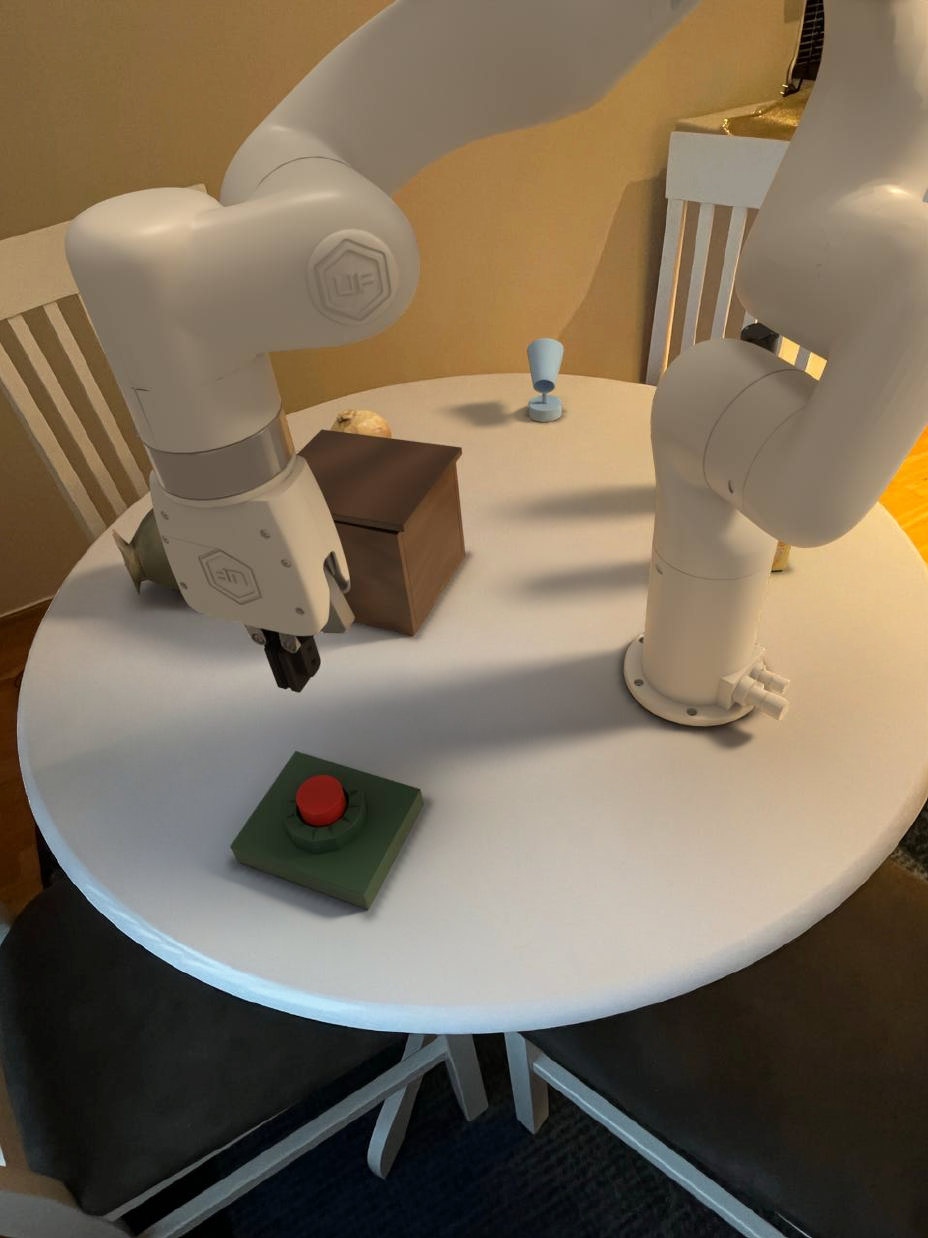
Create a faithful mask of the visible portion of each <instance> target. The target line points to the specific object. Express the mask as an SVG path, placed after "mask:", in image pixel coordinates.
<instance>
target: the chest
mask: <svg viewBox="0 0 928 1238" xmlns="http://www.w3.org/2000/svg"><path fill="white" fill-rule="evenodd" d="M458 477H459V476H458V467H457V462H456V463H455V465H454V466H453V467H452V469H451V470H450V471H449V473H448V474H447V475H446V477H445V478H444V479H443V481H442V482H441V483H440V485H439V486H438V487H437V489H436V490H435V492H434V493H433V494H432V496H431V497H430V498H429V500H428V501H427V502H426V504H425V505H424V506H423V508H422V509H421V510H420V512H419V513H418V514H417V516H416V517H415V518H414V520H413V521H412V523H411V524H410V525H409V527H408V528H407V529H406V531H405V532H400V531H394V530H389V529H383V528H377V527H371V526H365V525H360V524H354V523H348V522H342V521H336V520H333V521H334V524H335V527H336V530H337V533H338V536H339V539H340V542H341V545H342V548H343V552H344V555H345V559H346V563H347V567H348V572H349V577H350V590H349V592H347V593H345V594H343V595H344V597H345V599H346V601H347V603H348V605H349V607H350V608H351V610H352V612H353V614H354V617H355V618H354V620H353V622H355V623H359V624H364V625H368V626H372V627H376V628H380V629H385V630H389V631H393V632H398V633H402V634H405V635H410V636H416V634H417V632H418V631H419V629H420V627H421V626H422V624H423V622H424V621H425V620H426V618H427V616H428V615H429V613H430V611H431V610H432V608H433V607H434V605H435V604H436V602H437V601H438V599H439V597H440V596H441V594H442V593H443V591H444V590H445V588H446V587H447V585H448V583H449V582H450V580H451V579H452V578H453V576H454V574H455V573H456V571H457V569H458V568H459V566H460V565H461V563H462V561H463V560H464V559H465V557H466V546H465V537H464V527H463V517H462V506H461V497H460V487H459V478H458Z"/></svg>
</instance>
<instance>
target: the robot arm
mask: <svg viewBox="0 0 928 1238" xmlns="http://www.w3.org/2000/svg"><path fill="white" fill-rule="evenodd" d="M704 1H705V0H395V1H393V2H392V3H390V4H389V5H388V6H386V7H385V8H383V9H382V10H381V11H379V12H378V13H377V14H376V15H374V16H372V17H371V18H369V20H368V21H366V22H365V23H363V24H362V25H361V26H360V27H358V28H357V29H356V30H355V31H353V32H352V33H350V35H348V36H347V37H346V38H345V39H343V40H342V41H341V42H340V43H339V44H337V45H336V46H335V47H334V48H333V49H332V50H331V51H329V53H327V55H326V56H324V57H323V58H322V59H321V60H320V61H319V62H318V63H317V64H316V65H315V66H314V67H313V68H312V69H311V70H310V71H309V72H307V74H306V75H305V76H304V77H303V78H302V79H301V80H300V81H299V82H298V83H297V84H296V85H295V86H294V88H293V89H291V91H289V93H287V95H286V96H285V97H284V98H283V99H282V100H281V101H280V102H279V103H278V104H277V105H276V107H274V108H273V109H272V110H271V112H269V114H268V115H267V116H266V117H264V119H263V120H262V121H261V122H260V123H259V124H258V125H257V126H256V128H254V130H253V131H252V132H251V133H250V134H249V135H248V136H247V138H246V139H245V140H244V141H243V143H242V144H241V145H240V146H239V148H238V149H237V151H236V152H235V154H234V156H233V158H232V159H231V161H230V162H229V165H228V167H227V169H226V171H225V174H224V177H223V179H222V183H221V187H220V195H219V201H218V200H217V199H216V198H214V197H213V196H211V195H210V194H207V193H206V192H203V191H201V190H199V189H192V188H188V187H187V188H185V187H173V186H172V187H169V186H168V187H156V188H147V189H141V190H136V191H131V192H128V193H123V194H120V195H117V196H113V197H110V198H107V199H104V200H102V201H100V202H97V203H96V204H94V205H91V206H90V207H88V208H87V209H85V210H83V211H82V212H80V213H79V214H77V215H76V216H75V217H74V218H73V219H72V220H71V222H70V224H69V225H68V227H67V228H66V232H65V236H64V253H65V259H66V261H67V264H68V267H69V270H70V272H71V275H72V278H73V280H74V284H75V285H76V288H77V290H78V292H79V295H80V297H81V299H82V302H83V304H84V307H85V309H86V312H87V314H88V317H89V319H90V322H91V324H92V326H93V329H94V332H95V333H96V336H97V339H98V340H99V343H100V345H101V349H102V350H103V352H104V355H105V357H106V360H107V362H108V364H109V366H110V370H111V372H112V374H113V376H114V378H115V381H116V384H117V386H118V388H119V390H120V392H121V395H122V397H123V400H124V402H125V404H126V407H127V409H128V412H129V414H130V417H131V420H132V423H133V424H134V425H133V429H134V434H135V435H136V437H137V438H138V439H140V441H141V443H142V446H143V448H144V450H145V453H146V454H147V458H148V461H149V462H150V465H151V467H152V470H151V471H150V473H149V475H148V476H149V477H148V482H149V493H150V498H151V504H152V508H153V510H154V514H155V518H156V522H157V526H158V530H159V533H160V536H161V540H162V543H163V546H164V549H165V552H166V555H167V558H168V560H169V563H170V566H171V569H172V571H173V574H174V576H175V579H176V581H177V584H178V586H179V588H180V591H181V592H180V593H181V596H183V599H184V600H185V602H186V603H187V605H188V606H189V607H190V608H191V609H193V610H194V611H197V612H198V613H201V614H203V615H206V616H209V617H212V618H217V619H220V620H223V621H224V620H225V621H228V622H232V623H236V624H242V625H243V626H244V629H245V630H246V632H247V634H248V635H249V637H250V639H251V640H252V641H253V642H254V643H255V644H257V645H259V646H263V647H264V648H263V651H264V654H265V656H266V659H267V663H268V664H269V667H270V670H271V673H272V675H273V678H274V680H275V683H276V687H277V688H278V689H282V690H287V689H290V691H291V692H295V693H298V694H300V693H301V692H302V691H303V690H304V688H305V687H306V686H307V684H308V682H309V681H310V680H311V678H314V677H315V676H316V674H317V673H318V671H319V670H320V667H321V663H322V660H321V655H320V652H319V649H318V647H317V646H318V645H317V642H316V639H315V635H318V634H319V633H321V632H322V634H335V635H337V634H341V635H342V634H345V633H346V632H347V631H348V630H349V628H350V626H351V625H352V623H353V622H354V621H353V620H354V618H355V617H354V614H353V612H352V610H351V608H350V607H349V605H348V603H347V601H346V599H345V597H344V595H343V594H345V593H347V592H349V590H350V577H349V572H348V567H347V563H346V559H345V555H344V552H343V548H342V545H341V542H340V539H339V536H338V533H337V530H336V527H335V524H334V521H333V519H332V516H331V513H330V511H329V508H328V506H327V503H326V501H325V499H324V496H323V494H322V492H321V490H320V488H319V486H318V483H317V481H316V479H315V477H314V475H313V473H312V471H311V469H310V468H309V466H308V464H307V462H306V460H305V458H304V457H302V456H299V455H297V454H298V453H296V452H297V451H296V448H295V445H294V441H293V437H292V434H291V430H290V427H289V423H288V420H287V416H286V412H285V407H284V405H283V401H282V397H281V393H280V389H279V386H278V382H277V379H276V376H275V372H274V368H273V365H272V361H271V357H270V353H277V352H278V353H279V352H289V351H290V352H291V351H302V350H317V349H328V348H329V349H330V348H336V347H343V346H344V347H345V346H349V345H354V344H357V343H360V342H365V341H367V340H369V339H373V338H374V337H376V336H378V335H380V334H382V333H383V332H385V331H387V330H388V329H390V328H391V327H392V326H394V325H395V324H396V323H397V322H398V321H399V320H400V319H401V318H402V316H403V315H404V314H405V313H406V312H407V310H408V309H409V307H410V306H411V303H412V302H413V300H414V298H415V295H416V292H417V290H418V287H419V282H420V278H421V266H422V265H421V253H420V247H419V244H418V240H417V237H416V234H415V232H414V229H413V227H412V225H411V223H410V221H409V220H408V218H407V217H406V215H405V213H404V212H403V211H402V209H401V208H400V207H399V206H398V204H397V203H396V202H395V201H394V200H393V199H392V197H393V196H395V194H396V193H398V191H400V190H401V189H402V188H403V187H405V186H406V184H408V183H409V182H410V181H411V180H412V179H414V178H415V177H416V176H418V175H419V174H420V173H422V172H423V171H424V170H426V169H427V168H429V167H430V166H431V165H433V164H434V163H436V162H437V161H439V160H441V159H442V158H444V157H446V156H447V155H450V154H451V153H452V152H455V151H458V150H459V149H461V148H463V147H466V146H468V145H470V144H472V143H475V142H477V141H481V140H483V139H488V138H491V137H495V136H498V135H503V134H508V133H513V132H517V131H518V132H519V131H523V130H528V129H535V128H537V127H541V126H546V125H549V124H552V123H556V122H559V121H561V120H565V119H567V118H569V117H572V116H575V115H578V114H580V113H583V112H584V111H587V110H589V109H591V108H592V107H594V106H595V105H597V104H598V103H600V102H601V101H602V100H603V99H605V97H606V96H607V95H608V94H609V93H610V92H612V90H613V89H615V88H616V87H617V86H618V85H619V84H620V83H621V81H622V80H624V78H625V77H626V76H627V75H629V74H630V73H631V72H632V71H633V69H635V68H636V67H637V66H638V65H639V64H640V63H641V62H642V61H643V60H644V59H645V58H646V57H647V56H648V55H649V53H651V52H652V51H653V50H654V49H655V48H656V47H657V46H658V45H659V44H660V43H661V42H662V41H663V40H664V39H665V38H667V36H669V34H671V33H672V32H673V31H674V30H675V29H676V28H677V27H678V26H679V25H680V24H681V23H682V22H683V21H684V20H685V19H686V18H687V17H688V16H689V15H690V14H691V13H693V11H695V9H696V8H698V7H699V6H700V5H701V4H702V3H703V2H704ZM822 1H823V2H822V3H823V13H824V30H823V32H824V34H823V35H824V36H823V44H822V51H821V53H822V54H821V58H820V59H821V60H820V63H819V67H818V71H817V74H816V78H815V82H814V84H813V87H812V89H811V92H810V94H809V96H808V99H807V101H806V104H805V107H804V109H803V112H802V114H801V117H800V118H799V119H800V120H799V122H798V124H797V126H796V128H795V130H794V132H793V134H792V137H791V139H790V141H789V143H788V146H787V148H786V150H785V152H784V155H783V157H782V159H781V161H780V163H779V166H778V168H777V170H776V172H775V175H774V177H773V179H772V180H771V183H770V186H769V188H768V190H767V193H766V194H765V196H764V199H763V201H762V203H761V205H760V207H759V210H758V212H757V214H756V216H755V218H754V220H753V223H752V225H751V228H750V230H749V232H748V235H747V237H746V239H745V243H744V244H743V246H742V249H741V251H740V255H739V258H738V260H737V265H736V269H735V274H734V275H735V276H734V290H735V294H736V297H737V299H738V301H739V304H740V305H741V306H742V307H743V309H744V310H745V311H746V312H747V314H749V315H750V316H751V317H752V318H754V319H755V320H756V321H758V323H762V324H763V325H765V326H766V327H768V328H769V329H771V330H773V331H774V332H776V333H778V334H779V336H782V337H783V338H785V339H787V340H788V341H790V342H792V343H794V344H796V345H798V346H799V347H801V348H803V349H805V350H807V351H809V352H810V353H812V354H814V355H816V356H817V357H819V358H821V359H823V360H825V361H826V362H825V365H824V367H823V370H822V372H821V375H820V377H819V378H818V379H816V378H815V377H813V376H812V375H811V374H810V373H808V372H807V371H805V370H803V369H801V368H799V367H797V366H796V365H795V364H793V363H791V362H790V361H787V360H785V359H784V358H782V357H780V356H779V355H777V354H776V355H775V354H773V353H772V352H770V351H768V350H766V349H764V348H762V347H760V346H758V345H755V344H753V343H749V342H746V341H742V340H740V338H730V337H715V338H711V339H707V340H703V341H700V342H697V343H695V344H693V345H691V346H689V347H688V348H686V349H685V350H683V351H682V352H681V353H680V354H678V355H677V356H676V357H675V358H674V359H673V360H672V361H671V363H670V364H669V365H668V367H667V368H666V369H665V370H664V371H663V374H662V375H661V377H660V379H659V380H658V383H657V386H656V388H655V391H654V393H653V398H652V403H651V408H650V410H651V411H650V418H649V419H650V420H649V421H650V422H649V423H650V424H649V425H650V426H649V427H650V443H651V452H652V458H653V468H654V478H655V509H654V522H653V534H652V542H651V543H652V545H651V554H650V565H649V577H648V588H647V597H646V598H647V599H646V608H645V620H644V628H643V629H644V630H643V632H642V633H640V634H639V635H638V636H636V638H635V639H634V640H633V641H632V642H631V643H630V645H629V647H628V648H627V650H626V653H625V656H624V660H623V675H624V681H625V683H626V686H627V688H628V690H629V692H630V693H631V695H632V696H633V698H634V699H635V700H636V701H637V702H638V703H639V704H640V705H641V706H642V707H643V708H645V709H646V710H648V711H649V712H651V713H652V714H654V715H656V716H658V717H660V718H662V719H665V720H666V721H669V722H673V723H677V724H680V725H686V726H690V727H691V726H692V727H712V726H720V725H725V724H728V723H731V722H734V721H736V720H739V719H741V718H742V717H745V716H746V715H747V714H748V713H750V711H752V710H753V709H754V708H756V709H758V710H759V712H761V713H762V714H764V715H766V716H768V717H770V718H772V719H774V720H776V721H777V722H782V719H784V717H785V716H786V714H787V713H788V710H789V709H790V706H791V700H788V699H786V698H784V697H782V696H780V695H779V694H781V695H784V694H785V693H786V691H788V688H789V686H790V684H791V680H789V679H787V678H785V677H784V676H781V675H779V674H777V673H774V672H772V671H770V670H768V669H767V666H766V665H765V664H764V662H763V660H764V657H765V652H766V647H764V646H762V645H760V644H758V643H756V640H757V635H758V632H759V626H760V622H761V618H762V613H763V609H764V605H765V600H766V596H767V591H768V586H769V581H770V577H771V573H772V571H771V568H772V564H773V559H774V556H775V553H776V548H777V544H778V541H780V542H782V543H785V544H787V545H790V546H791V547H795V548H799V549H814V548H819V547H823V546H826V545H829V544H831V543H833V542H835V541H837V540H839V539H840V538H842V537H843V536H845V535H846V534H848V533H849V532H850V531H851V530H853V529H854V528H855V527H856V526H857V525H858V524H859V523H860V522H861V521H862V520H863V519H864V518H865V517H866V516H867V515H868V514H869V512H870V511H871V510H872V509H873V508H874V507H875V506H876V505H877V503H878V501H879V500H880V499H881V497H882V495H883V494H884V493H885V492H886V490H887V489H888V487H889V486H890V484H891V482H893V479H894V478H895V476H896V475H897V473H898V472H899V470H900V469H901V468H902V465H903V464H904V463H905V461H906V459H907V458H908V456H909V454H910V453H911V451H912V450H913V449H914V447H915V445H916V444H917V442H918V440H919V439H920V437H921V436H922V434H923V432H924V431H925V430H926V428H927V427H928V202H926V201H923V200H924V198H925V195H926V192H927V190H928V0H822ZM765 686H766V687H768V688H769V689H771V690H774V691H775V692H777V693H779V694H777V693H775V692H772V691H768V690H766V689H765Z"/></svg>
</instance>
